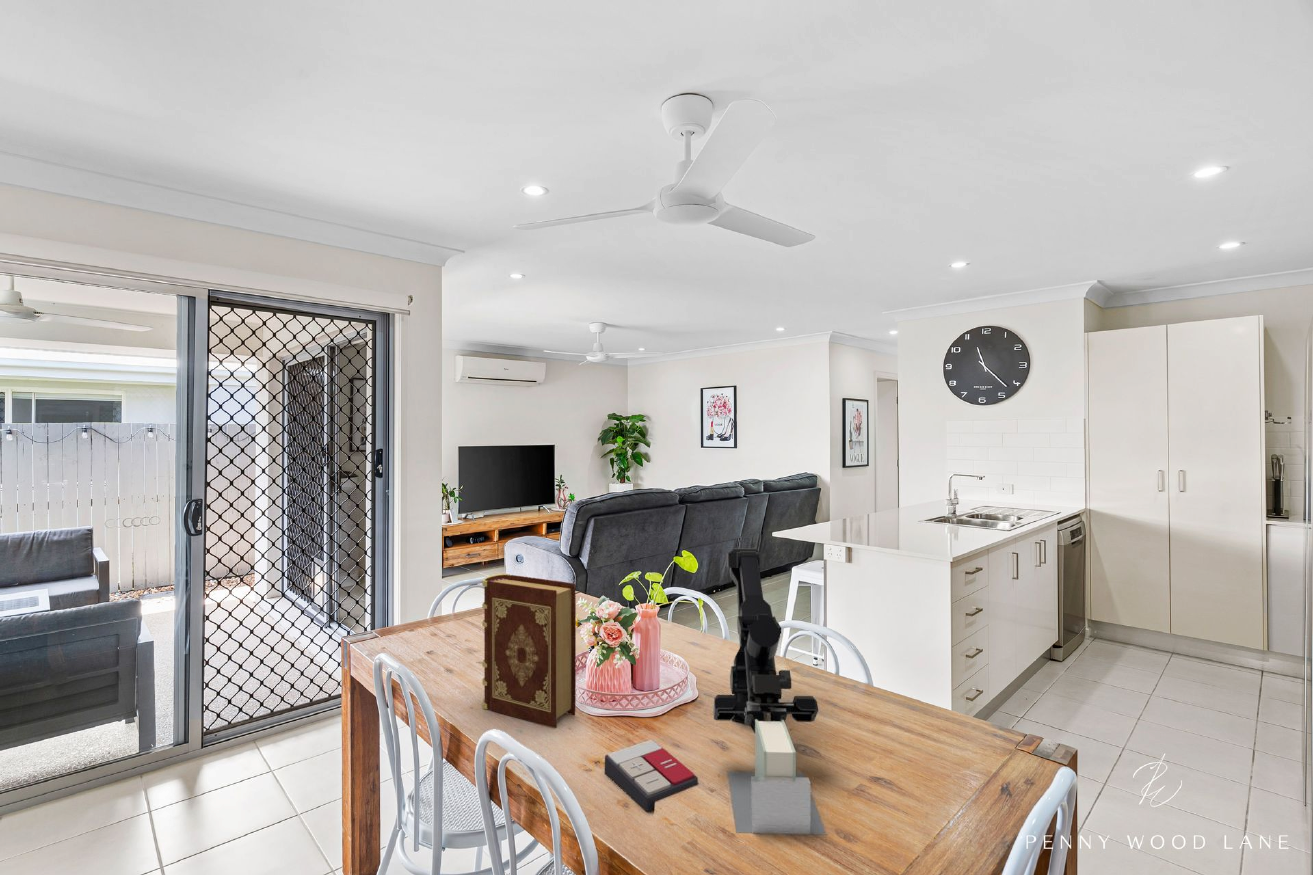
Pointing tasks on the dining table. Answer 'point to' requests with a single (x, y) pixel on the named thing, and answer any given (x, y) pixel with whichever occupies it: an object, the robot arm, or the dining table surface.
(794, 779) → the bookend
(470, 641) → the dining table surface
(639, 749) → the calculator
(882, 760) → the dining table surface
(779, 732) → the book
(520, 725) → the dining table surface
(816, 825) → the shelf board
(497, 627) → the decorative book
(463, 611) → the dining table surface
